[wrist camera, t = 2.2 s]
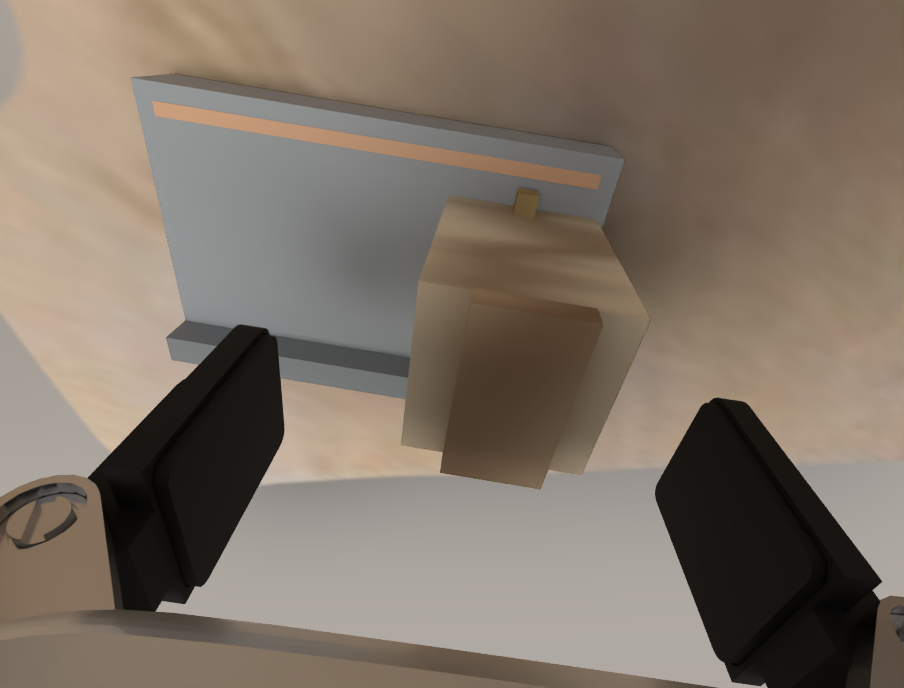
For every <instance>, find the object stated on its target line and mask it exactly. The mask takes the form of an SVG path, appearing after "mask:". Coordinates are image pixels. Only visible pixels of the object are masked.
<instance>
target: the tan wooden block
mask: <svg viewBox="0 0 904 688" xmlns="http://www.w3.org/2000/svg"><path fill="white" fill-rule="evenodd" d="M538 201H539V193H538V191H534V190H528V189H522V188H517V192H516V197H515V202H514V205H508V204H502V203H496V202H490V201H484V200H478V199H472V198H466V197H460V196H454V195H449V196H448V199H447V202H446V205H445V207H444V210H443V213H442V216H441V219H440V221H439V224H438V227H437V230H436V233H435V236H434V238H433V241H432V244H431V247H430V250H429V253H428V255H427V258H426V261H425V264H424V267H423V269H422V272H421V275H420V278H419V281H418V289H417V299H416V308H415V318H414V327H413V337H412V346H411V356H410V365H409V374H408V384H407V393H406V403H405V412H404V422H403V431H402V441H401V445H403V446H409V447H415V448H421V449H427V450H433V451H439V452H443V456H442V463H441V470H440V473H445V474H451V475H457V476H463V477H469V478H475V479H481V480H487V481H493V482H500V483H505V484H511V485H517V486H523V487H529V488H535V489H541V487H542V484H543V482H544V479H545V477H546V474H547V471H548V470H553V471H559V472H565V473H571V474H577V475H582V473H583V471H584V468H585V466H586V464H587V462H588V459H589V457H590V455H591V453H592V451H593V448H594V446H595V444H596V442H597V439H598V437H599V435H600V433H601V431H602V428H603V426H604V424H605V422H606V419H607V417H608V415H609V413H610V410H611V408H612V406H613V404H614V402H615V399H616V397H617V395H618V393H619V390H620V388H621V386H622V384H623V382H624V379H625V377H626V375H627V373H628V370H629V368H630V366H631V364H632V361H633V359H634V357H635V355H636V353H637V350H638V348H639V346H640V344H641V341H642V339H643V337H644V335H645V332H646V330H647V328H648V326H649V324H650V321H651V319H650V317H649V315H648V313H647V311H646V309H645V308H644V306H643V304H642V302H641V300H640V298H639V297H638V295H637V293H636V291H635V289H634V287H633V286H632V284H631V282H630V280H629V278H628V276H627V274H626V273H625V271H624V269H623V267H622V265H621V263H620V262H619V260H618V258H617V256H616V254H615V252H614V251H613V249H612V247H611V245H610V243H609V241H608V240H607V238H606V236H605V234H604V232H603V230H602V229H601V227H600V225H599V223H598V221H597V219H592V218H586V217H580V216H574V215H568V214H562V213H556V212H550V211H544V210H538V209H537V205H538Z"/></svg>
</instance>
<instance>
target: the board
mask: <svg viewBox="0 0 904 688" xmlns="http://www.w3.org/2000/svg"><path fill="white" fill-rule="evenodd" d="M131 81H132V85H133V90H134V94H135V99H136V103H137V107H138V112H139V116H140V121H141V125H142V130H143V134H144V138H145V143H146V147H147V152H148V156H149V161H150V165H151V170H152V174H153V178H154V183H155V187H156V192H157V196H158V201H159V205H160V209H161V214H162V218H163V223H164V227H165V232H166V236H167V240H168V245H169V249H170V254H171V258H172V263H173V267H174V271H175V276H176V280H177V285H178V289H179V294H180V298H181V302H182V307H183V311H184V316H185V320H186V321H184V322H183V323H182V324H181V325H180V326H179V327H178V328H176V329H175V330H174V331H173V332H172V333H171V334H169V335H168V336H167V337H166V340H167V343H168V347H169V351H170V355H171V359H172V360H175V361H181V362H187V363H193V364H200V363H201V362H202V361H203V360H204V359H205V358H206V357H207V356H208V355H209V354H210V353H211V352H212V351H213V350H214V348H215V347H216V346H217V345H218V344H219V343H220V342H221V341H222V340H223V339H224V338H225V337H226V336H227V335H228V334H229V333H230V332H231V331H232V330H233V328H234V327H236V326H237V325H240V324H242V325H248V326H255V327H261V328H266V329H268V331H269V333H270V336H275V337H276V339H277V343H278V355H279V367H280V378H283V379H289V380H295V381H301V382H307V383H313V384H319V385H325V386H331V387H337V388H343V389H349V390H355V391H361V392H367V393H373V394H379V395H385V396H391V397H397V398H403V399H406V393H407V384H408V374H409V365H410V356H411V346H412V337H413V327H414V318H415V308H416V299H417V289H418V281H419V278H420V275H421V272H422V269H423V267H424V264H425V261H426V258H427V255H428V253H429V250H430V247H431V244H432V241H433V238H434V236H435V233H436V230H437V227H438V224H439V221H440V219H441V216H442V213H443V210H444V207H445V205H446V202H447V199H448V196H449V195H454V196H460V197H466V198H472V199H478V200H484V201H490V202H496V203H502V204H508V205H514V202H515V197H516V192H517V188H522V189H528V190H534V191H538V193H539V201H538V205H537V209H538V210H544V211H550V212H556V213H562V214H568V215H574V216H580V217H586V218H592V219H597V221H598V223H599V225H600V227H601V229H602V227H603V224H604V221H605V218H606V215H607V212H608V209H609V206H610V203H611V200H612V197H613V194H614V191H615V188H616V185H617V182H618V179H619V176H620V173H621V170H622V167H623V164H624V161H625V159H624V158H623V157H621V156H620V155H619V154H618V153H617V152H616V151H615V150H614V149H613V148H612V147H611V146H605V145H599V144H593V143H587V142H581V141H575V140H569V139H563V138H557V137H551V136H545V135H539V134H533V133H527V132H521V131H515V130H509V129H503V128H497V127H491V126H484V125H478V124H472V123H466V122H460V121H454V120H448V119H442V118H436V117H430V116H424V115H418V114H412V113H406V112H400V111H394V110H388V109H382V108H376V107H370V106H364V105H358V104H352V103H346V102H340V101H334V100H328V99H322V98H316V97H310V96H304V95H298V94H292V93H286V92H280V91H274V90H268V89H262V88H256V87H250V86H244V85H238V84H232V83H226V82H220V81H214V80H208V79H202V78H196V77H190V76H184V75H178V74H166V75H155V76H143V77H132V78H131Z"/></svg>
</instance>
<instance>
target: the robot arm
mask: <svg viewBox="0 0 904 688" xmlns="http://www.w3.org/2000/svg"><path fill="white" fill-rule="evenodd" d="M283 436H284V417H283V404H282V392H281V379H280V367H279V355H278V343H277V339H276V337H275V336H270V333H269V331H268V329H266V328H261V327H255V326H248V325H242V324H240V325H237V326H236V327H234V328H233V330H232V331H231V332H230V333H229V334H228V335H227V336H226V337H225V338H224V339H223V340H222V341H221V342H220V343H219V344H218V345H217V346H216V347H215V348H214V350H213V351H212V352H211V353H210V354H209V355H208V356H207V357H206V358H205V359H204V360H203V361H202V362H201V363H200V364H199V365H198V366H197V367H196V368H195V369H194V371H193V372H192V373H191V374H190V375H189V376H188V377H187V378H186V379H185V380H182V381H181V382H180V383H179V384H177V385H176V386H175V387H174V388H173V389H172V390H171V392H170V393H169V394H168V395H167V396H166V397H165V398H164V399H163V400H162V401H161V402H160V403H159V404H158V405H157V406H156V407H155V408H154V409H153V410H152V411H151V412H150V413H149V414H148V415H147V417H146V418H145V419H144V420H143V421H142V422H141V423H140V424H139V425H138V426H137V427H136V428H135V429H134V430H133V431H132V432H131V433H130V434H129V435H128V436H127V437H126V438H125V439H124V440H123V442H122V443H121V444H120V445H119V446H118V447H117V448H116V449H115V450H114V451H113V452H112V453H111V454H110V455H109V456H108V457H107V458H106V459H105V460H104V461H103V462H102V464H100V466H99V467H98V468H97V469H96V470H95V471H94V472H93V473H92V474H91V475H90V476H89V477H88V478H85V477H81V476H76V475H56V476H51V477H47V478H42V479H38V480H35V481H32V482H30V483H27V484H25V485H22V486H20V487H17V488H16V489H14V490H12V491H10V492H9V493H7V494H5V495H3V496H1V497H0V688H716V687H709V686H702V685H695V684H689V683H682V682H675V681H668V680H661V679H655V678H648V677H641V676H634V675H628V674H621V673H614V672H607V671H600V670H593V669H586V668H579V667H572V666H565V665H558V664H551V663H544V662H537V661H530V660H523V659H515V658H508V657H502V656H494V655H488V654H481V653H474V652H467V651H459V650H453V649H446V648H439V647H432V646H424V645H417V644H410V643H402V642H395V641H388V640H381V639H373V638H366V637H359V636H351V635H344V634H336V633H329V632H322V631H314V630H307V629H300V628H293V627H285V626H278V625H270V624H262V623H253V622H245V621H237V620H228V619H220V618H211V617H202V616H194V615H186V614H178V613H166V612H155V611H156V610H157V608H158V606H159V605H160V603H161V601H167V602H174V603H181V604H185V603H186V601H187V600H188V598H189V596H190V594H191V593H192V591H193V589H194V587H195V586H198V587H201V586H203V585H204V584H205V583H206V581H207V580H208V578H209V577H210V575H211V573H212V571H213V569H214V567H215V565H216V564H217V561H218V560H219V558H220V556H221V554H222V552H223V551H224V549H225V547H226V545H227V543H228V541H229V540H230V538H231V535H232V534H233V532H234V530H235V528H236V527H237V525H238V523H239V521H240V519H241V517H242V515H243V513H244V512H245V510H246V508H247V506H248V504H249V502H250V501H251V499H252V497H253V495H254V493H255V491H256V489H257V488H258V486H259V484H260V482H261V480H262V478H263V477H264V475H265V473H266V471H267V469H268V467H269V465H270V464H271V462H272V460H273V458H274V456H275V454H276V452H277V451H278V449H279V447H280V445H281V443H282V440H283ZM655 497H656V501H657V504H658V507H659V509H660V512H661V514H662V517H663V520H664V522H665V525H666V527H667V530H668V533H669V535H670V538H671V541H672V543H673V546H674V548H675V551H676V553H677V556H678V559H679V561H680V564H681V567H682V569H683V572H684V575H685V577H686V580H687V582H688V585H689V587H690V590H691V592H692V595H693V598H694V600H695V603H696V606H697V608H698V611H699V614H700V616H701V619H702V621H703V624H704V627H705V629H706V632H707V634H708V637H709V640H710V642H711V645H712V648H713V650H714V652H715V654H716V656H717V657H718V658H719V659H720V660H721V661H723V662H724V663H725V665H726V668H727V671H728V673H729V676H730V678H731V681H732V682H735V683H742V684H749V685H756V686H761V685H763V684H764V683H766V685H767V687H768V688H904V597H897V596H889V597H886V598H884V599H882V600H879V599H878V597H877V596H876V595H875V593H874V592H873V591H872V590H873V589H874V588H876V587H877V586H878V585H879V584H880V583H881V582H882V581H881V579H880V578H879V577H878V575H877V574H876V573H875V571H874V570H873V569H872V567H871V566H870V565H869V563H868V562H867V561H866V559H865V558H864V557H863V555H862V554H861V553H860V551H859V550H858V549H857V548H856V546H855V545H854V544H853V542H852V541H851V540H850V538H849V537H848V536H847V535H846V533H845V532H844V530H843V529H842V528H841V527H840V525H839V524H838V523H837V521H836V520H835V519H834V517H833V516H832V515H831V513H830V512H829V511H828V509H827V508H826V507H825V505H824V504H823V503H822V501H821V500H820V499H819V497H818V496H817V495H816V493H815V492H814V491H813V490H812V488H811V487H810V486H809V484H808V483H807V482H806V480H805V479H804V478H803V476H802V475H801V474H800V472H799V471H798V470H797V468H796V467H795V466H794V464H793V463H792V462H791V461H790V459H789V458H788V457H787V455H786V454H785V453H784V451H783V450H782V449H781V447H780V446H779V445H778V443H777V442H776V441H775V439H774V438H773V437H772V435H771V434H770V433H769V432H768V430H767V429H766V428H765V426H764V425H763V424H762V422H761V421H760V420H759V418H758V417H757V416H756V414H755V413H754V412H753V410H752V409H751V408H750V406H749V405H748V404H746V403H745V402H742V401H736V400H729V399H723V398H714V399H712V400H711V401H710V402H709V403H705V404H703V405H702V406H701V408H700V409H699V411H698V413H697V414H696V416H695V418H694V420H693V421H692V423H691V425H690V427H689V429H688V430H687V432H686V434H685V436H684V437H683V439H682V441H681V443H680V444H679V446H678V448H677V450H676V451H675V453H674V455H673V457H672V458H671V460H670V462H669V464H668V466H667V467H666V469H665V471H664V473H663V474H662V476H661V478H660V480H659V481H658V483H657V486H656V490H655Z"/></svg>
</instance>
